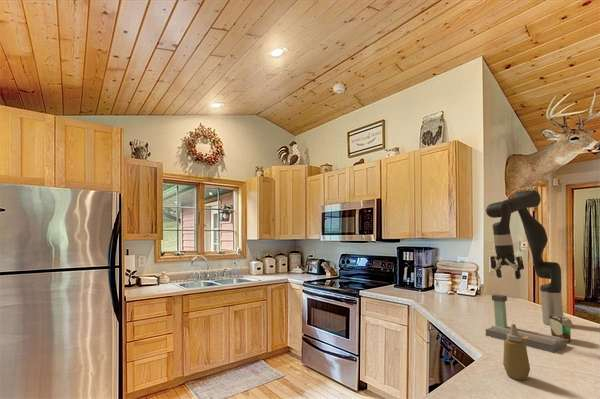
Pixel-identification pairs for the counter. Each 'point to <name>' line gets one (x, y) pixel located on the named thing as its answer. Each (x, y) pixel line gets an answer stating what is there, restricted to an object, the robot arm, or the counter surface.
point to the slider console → (530, 338)
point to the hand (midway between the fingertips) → (508, 278)
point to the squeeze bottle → (515, 356)
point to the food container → (560, 327)
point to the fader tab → (500, 310)
